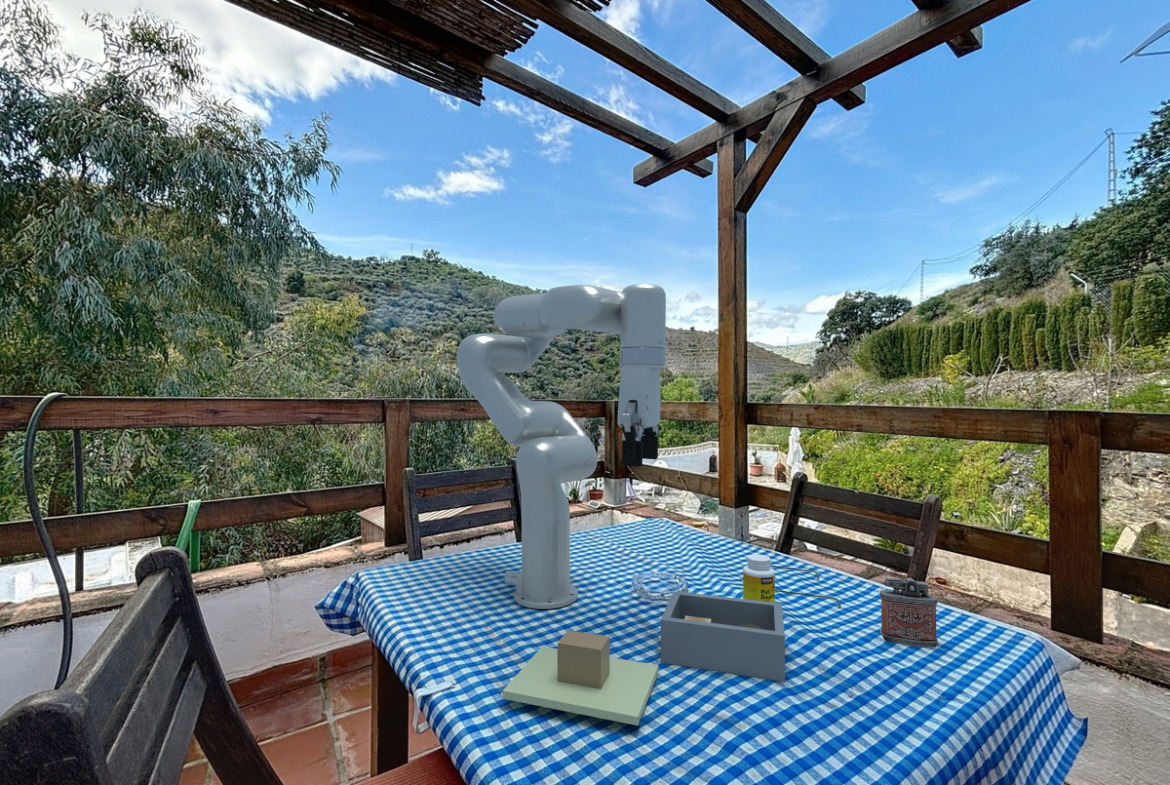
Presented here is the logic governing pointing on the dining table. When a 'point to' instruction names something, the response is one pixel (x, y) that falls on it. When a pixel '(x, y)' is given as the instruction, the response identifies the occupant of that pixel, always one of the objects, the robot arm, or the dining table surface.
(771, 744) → the dining table surface
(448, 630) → the dining table surface
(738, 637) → the tub
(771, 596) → the supplement bottle
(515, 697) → the lid
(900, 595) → the lighter
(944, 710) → the dining table surface
